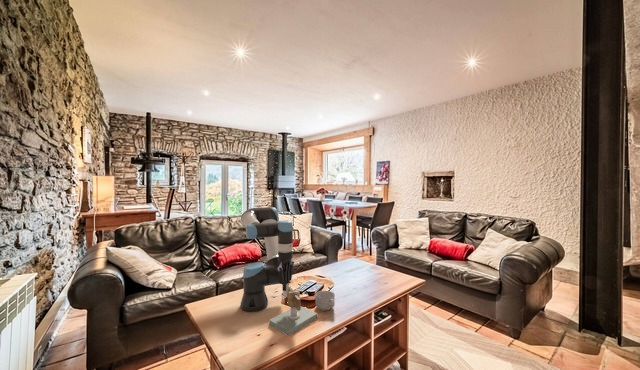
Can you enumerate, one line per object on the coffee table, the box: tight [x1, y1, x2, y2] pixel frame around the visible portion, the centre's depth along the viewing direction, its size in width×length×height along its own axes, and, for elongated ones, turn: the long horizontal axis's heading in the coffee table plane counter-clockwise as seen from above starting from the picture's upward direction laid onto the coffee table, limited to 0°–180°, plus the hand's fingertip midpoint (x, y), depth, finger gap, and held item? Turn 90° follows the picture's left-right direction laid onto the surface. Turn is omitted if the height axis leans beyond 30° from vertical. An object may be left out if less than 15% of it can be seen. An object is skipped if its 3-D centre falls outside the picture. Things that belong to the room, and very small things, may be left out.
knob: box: [287, 286, 302, 311], centre depth 132 cm, size 6×17×6 cm, turn 23°
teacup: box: [314, 290, 336, 312], centre depth 144 cm, size 14×11×8 cm
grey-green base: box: [268, 306, 319, 337], centre depth 132 cm, size 14×20×8 cm
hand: (285, 296), depth 136 cm, fingers closed
